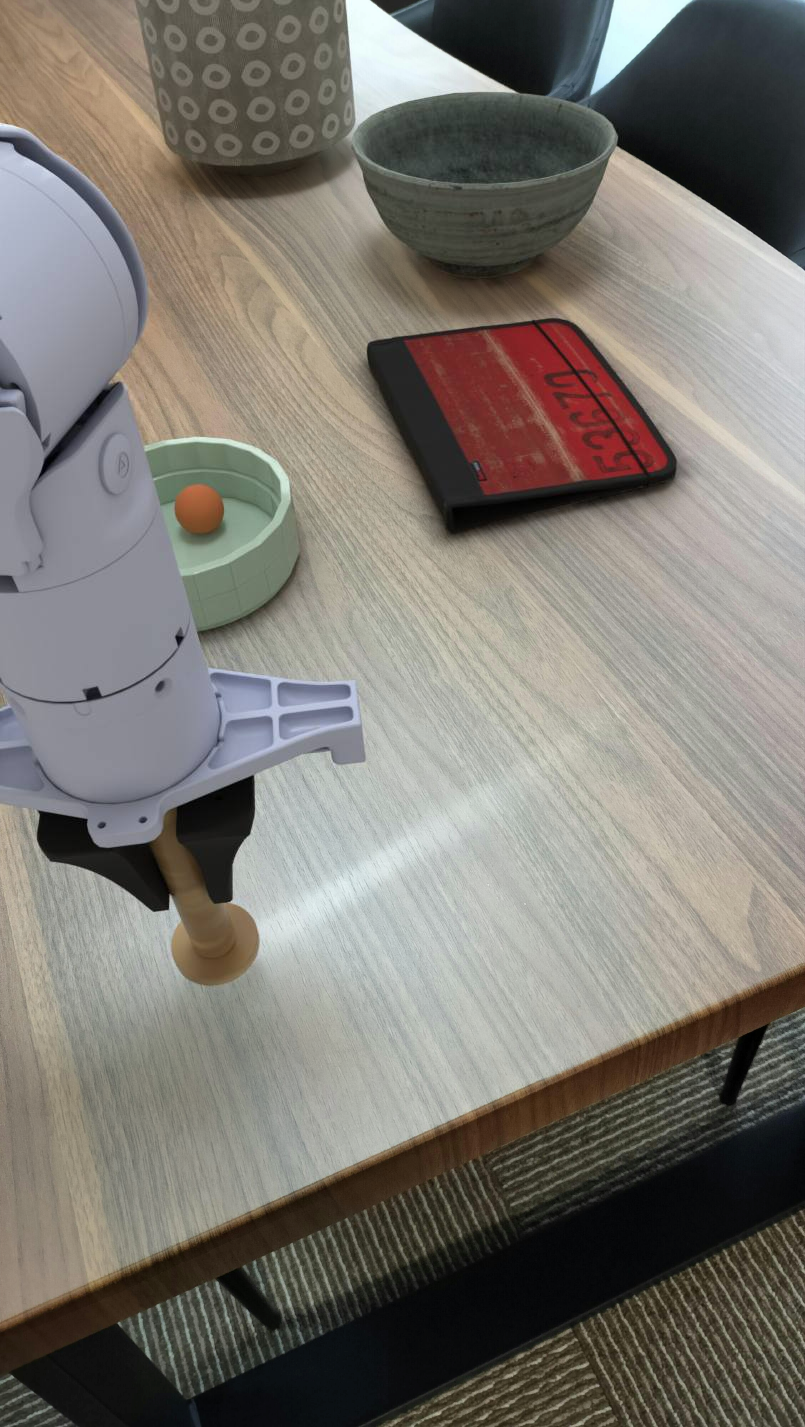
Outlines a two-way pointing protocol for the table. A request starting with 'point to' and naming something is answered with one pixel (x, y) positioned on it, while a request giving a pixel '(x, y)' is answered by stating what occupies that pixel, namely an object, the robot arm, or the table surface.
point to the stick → (202, 917)
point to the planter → (249, 79)
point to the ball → (199, 509)
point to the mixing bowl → (228, 525)
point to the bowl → (483, 175)
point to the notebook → (516, 419)
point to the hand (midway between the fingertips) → (191, 884)
